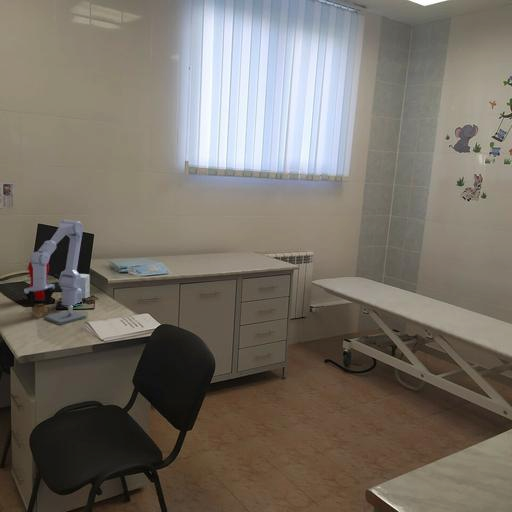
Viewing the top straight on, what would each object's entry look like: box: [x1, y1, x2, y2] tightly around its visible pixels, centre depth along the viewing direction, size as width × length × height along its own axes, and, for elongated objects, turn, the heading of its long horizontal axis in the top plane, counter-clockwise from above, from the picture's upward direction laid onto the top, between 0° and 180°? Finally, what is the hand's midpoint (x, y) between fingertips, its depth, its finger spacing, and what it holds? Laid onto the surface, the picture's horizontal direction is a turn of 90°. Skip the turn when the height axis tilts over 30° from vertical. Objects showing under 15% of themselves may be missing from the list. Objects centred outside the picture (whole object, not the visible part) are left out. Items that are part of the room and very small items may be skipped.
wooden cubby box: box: [31, 303, 49, 319], centre depth 236 cm, size 5×5×5 cm
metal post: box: [67, 305, 74, 316], centre depth 236 cm, size 2×2×6 cm
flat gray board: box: [44, 310, 87, 325], centre depth 235 cm, size 14×12×1 cm
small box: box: [79, 273, 91, 298], centre depth 267 cm, size 8×6×13 cm
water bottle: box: [26, 261, 50, 300], centre depth 260 cm, size 9×11×25 cm
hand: (39, 305), depth 235 cm, fingers open, 7 cm apart
